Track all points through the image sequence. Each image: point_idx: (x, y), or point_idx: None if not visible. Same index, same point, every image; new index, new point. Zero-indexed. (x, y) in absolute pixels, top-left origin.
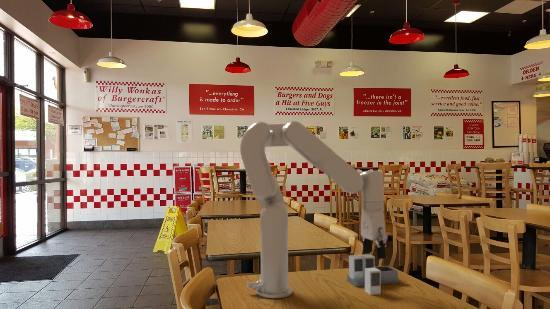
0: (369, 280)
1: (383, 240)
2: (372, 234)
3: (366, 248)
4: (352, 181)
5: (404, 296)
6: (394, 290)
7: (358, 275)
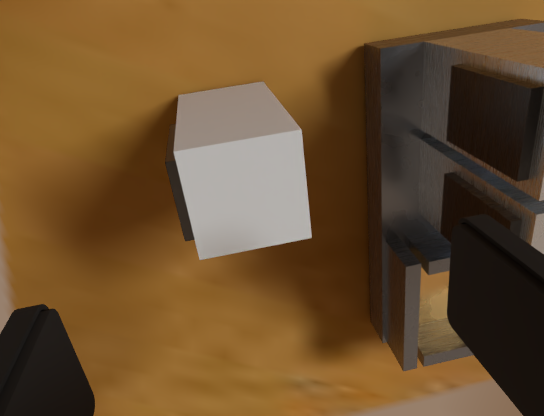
0: (187, 121)
1: None
2: None
3: (485, 284)
4: None
5: (152, 292)
6: (262, 269)
7: (438, 93)
